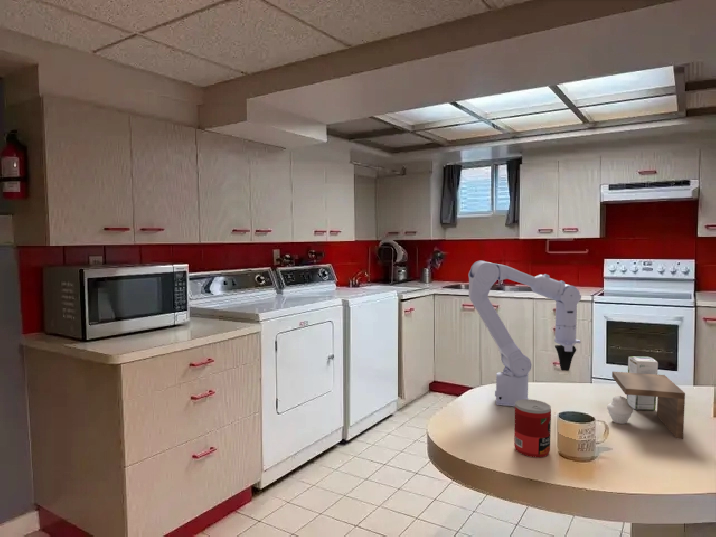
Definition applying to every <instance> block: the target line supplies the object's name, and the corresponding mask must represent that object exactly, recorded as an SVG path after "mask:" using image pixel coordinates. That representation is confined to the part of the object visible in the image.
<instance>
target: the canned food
mask: <svg viewBox="0 0 716 537" xmlns="http://www.w3.org/2000/svg"><path fill="white" fill-rule="evenodd" d="M551 425H552V407H551V405H550V404H549V403H547V402H545V401H542V400H537V399H530V398H529V399H524V400H518V401H516V402H515V406H514V432H513V433H514V438H513V439H514V440H513V441H514V442H513V443H514V444H513V446H514V449H515V451H516V452H518V453H519V454H520V455H522V456H526V457H530V458H536V459H537V458H539V459H541V458H545V457H547V456H548V455H550V451H551V432H552V431H551V428H552V427H551Z"/></svg>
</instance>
